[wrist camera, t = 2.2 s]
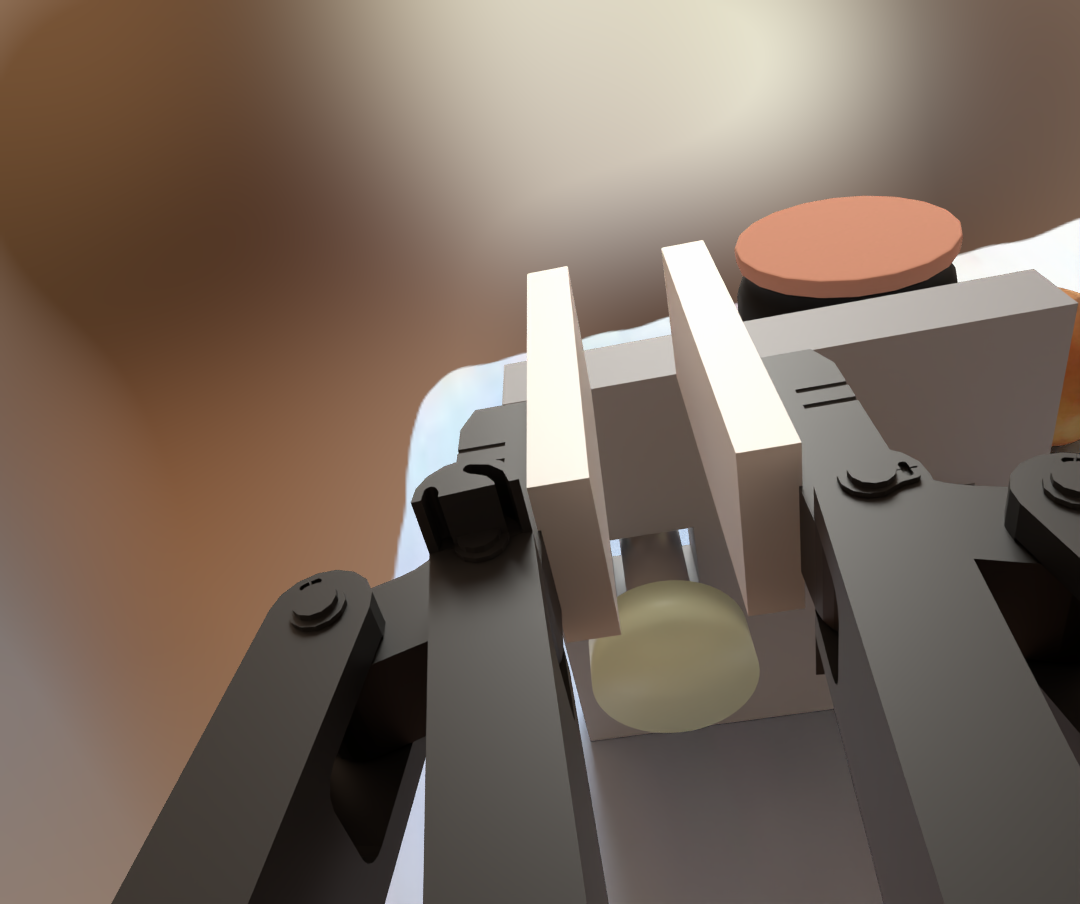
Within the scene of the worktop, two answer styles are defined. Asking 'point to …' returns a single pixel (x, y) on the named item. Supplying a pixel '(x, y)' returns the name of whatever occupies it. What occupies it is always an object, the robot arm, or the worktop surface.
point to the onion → (1070, 388)
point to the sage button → (672, 645)
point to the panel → (890, 402)
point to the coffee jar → (844, 253)
